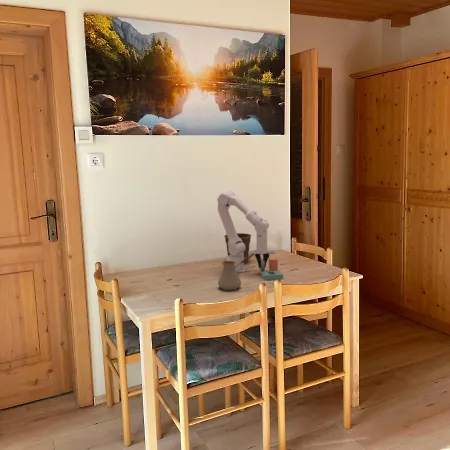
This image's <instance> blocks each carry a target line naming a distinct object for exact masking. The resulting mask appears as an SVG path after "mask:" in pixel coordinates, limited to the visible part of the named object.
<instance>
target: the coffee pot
mask: <svg viewBox="0 0 450 450" xmlns="http://www.w3.org/2000/svg"><path fill="white" fill-rule="evenodd" d="M252 257H253V258H255V255H254V254H252V255H249V257H247V258H245V259H244V260H243V261H241V262H240V263H239V264H237V265H236V266H235V264H236V262H234V261H227V260H226V261H225V260H224V261H222V265H223V269H222V271H221V273H220V277H219V278H218V281H217V285H218V287H220V288H221V289H222V290H224V291H235V290H237V289H238V288H239V287H240V286H241V284H242V280H241V278H240V276H239V274H238V272H237V271H236V269H235V268H236V267H237V266H239V265H240V264H242V263H243V262H245V261H247V260H248V259H250V258H252ZM248 261H249V260H248ZM245 263H246V262H245Z"/></svg>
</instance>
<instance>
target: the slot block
mask: <svg viewBox="0 0 450 450" xmlns="http://www.w3.org/2000/svg"><path fill="white" fill-rule="evenodd" d="M260 278H262V280H263V281H273V280H274V279H277V280H283V278H284V274H283V273H282V272H281V271H280V270H278V271H269V270H265V271H263V272H261V273H260ZM274 281H275V280H274Z"/></svg>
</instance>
